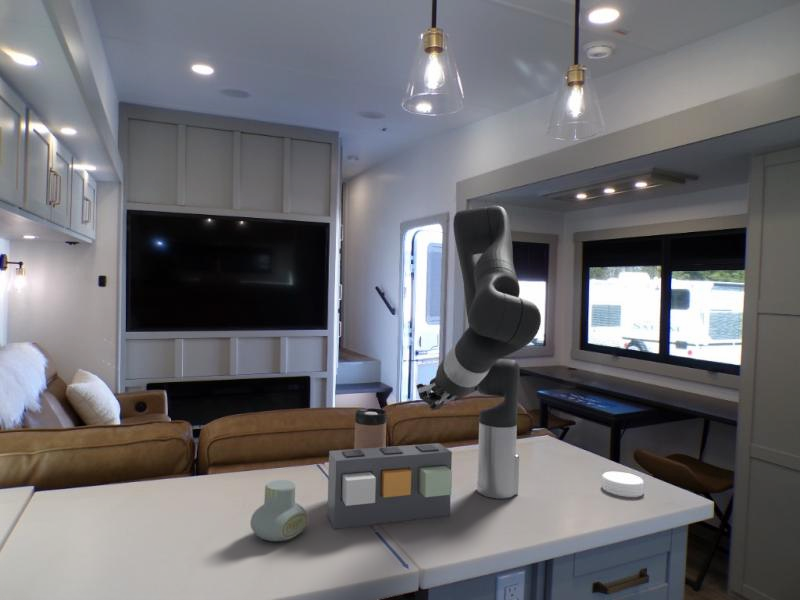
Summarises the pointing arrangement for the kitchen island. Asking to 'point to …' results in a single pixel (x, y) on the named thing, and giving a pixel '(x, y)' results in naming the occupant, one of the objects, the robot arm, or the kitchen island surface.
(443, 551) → the kitchen island surface
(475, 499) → the kitchen island surface
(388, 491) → the block
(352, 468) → the grey switch box
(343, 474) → the block
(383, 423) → the travel mug
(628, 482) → the white round disc
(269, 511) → the air freshener
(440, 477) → the block
